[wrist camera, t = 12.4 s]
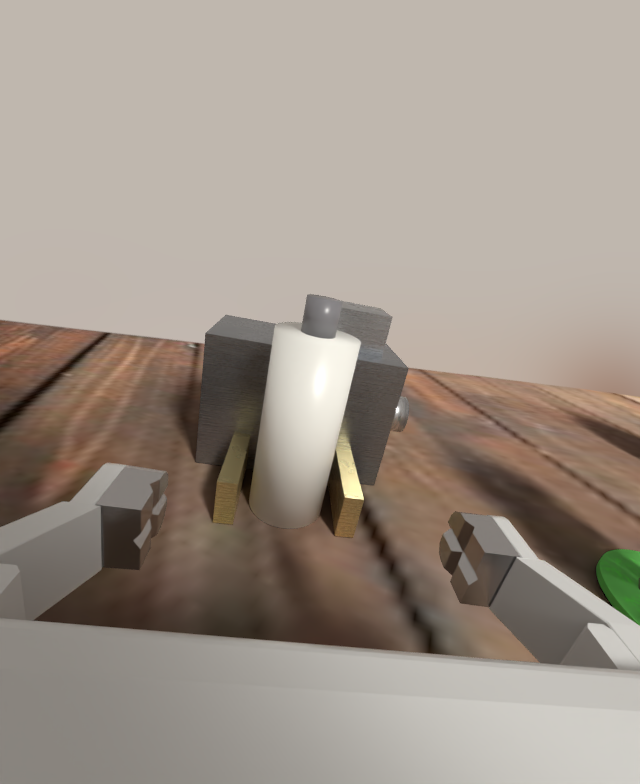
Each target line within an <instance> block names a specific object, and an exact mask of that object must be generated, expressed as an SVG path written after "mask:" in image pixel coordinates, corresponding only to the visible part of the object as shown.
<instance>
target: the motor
mask: <svg viewBox="0 0 640 784" xmlns="http://www.w3.org/2000/svg"><path fill="white" fill-rule="evenodd" d="M342 302H343V303H342V308H341V313H340V317H339V322H338V327H337V330H339V331H342V332H345V333H347V334H350V335H352V336H354V337H356V338H357V339H359V340H360V342H361V345H360V349H359V353H358V357H357V361H356V366H355V370H354V374H353V378H352V382H351V387H350V391H349V395H348V399H347V403H346V407H345V412H344V416H343V420H342V424H341V428H340V432H339V437H338V441H337V445H336V449H335V453H334V458H333V462H332V466H331V470H330V474H329V478H328V486H329V494H330V502H331V511H332V519H333V527H334V535H335V536H340V537H349V538H353V536H354V533H355V529H356V526H357V522H358V519H359V515H360V512H361V508H362V505H363V502H364V498H363V494H362V490H361V486H360V484H367V485H374V484H375V480H376V477H377V473H378V470H379V467H380V463H381V460H382V457H383V453H384V450H385V446H386V443H387V440H388V436H389V433H390V431H396V432H401V431H403V429H404V428H405V426H406V423H407V420H408V414H409V404H408V400H407V398H406V397H401V392H402V389H403V386H404V382H405V379H406V375H407V372H408V369H409V368H408V367H407V366H406V365H405V364H404V363H403V362H402V361H401V359H400V358H399V357H398V356H397V355H396V354H395V353H394V352H393V351H392V350H391V349H390V347H389V346H388V345H387V344H385V343H386V339H387V336H388V332H389V328H390V324H391V320H392V316H390V315H389V314H387V313H386V312H385V311H383V310H382V309H380V308H375V307H370V306H365V305H359V304H354V303H349V302H344V301H342ZM275 325H276V324H273V323H268V322H263V321H257V320H251V319H246V318H240V317H235V316H229V315H225V316H224V317H223V318H222V319H221V320H220V321H219V322H217V323H216V324H215V325H214V326H213V327H212V328H211V329H210V330H209V331H207V332H206V335H205V347H204V360H203V373H202V386H201V399H200V411H199V424H198V437H197V450H196V462H198V463H206V464H214V465H221V466H222V469H221V472H220V475H219V477H218V480H217V487H216V496H215V506H214V515H213V522H214V523H223V524H232V525H233V521H234V517H235V513H236V509H237V504H238V500H239V496H240V492H241V488H242V484H243V480H244V475H245V471H246V469H252V470H254V463H255V456H256V449H257V443H258V436H259V429H260V422H261V416H262V409H263V402H264V395H265V388H266V382H267V375H268V368H269V361H270V355H271V348H272V341H273V334H274V328H275Z"/></svg>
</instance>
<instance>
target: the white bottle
mask: <svg viewBox="0 0 640 784" xmlns="http://www.w3.org/2000/svg"><path fill="white" fill-rule="evenodd" d="M342 303H343V302H342V301H340V300H337V299H334V298H329V297H325V296H319V295H311V294H310V295H307V299H306V305H305V311H304V316H303V322H302V323H296V322H285V323H278V324H276V325H275V328H274V334H273V341H272V348H271V355H270V361H269V368H268V375H267V382H266V388H265V395H264V402H263V409H262V416H261V422H260V429H259V436H258V443H257V449H256V456H255V463H254V470H253V476H252V483H251V490H250V497H249V505H250V508H251V510H252V512H253V513H254V514H255V515H256V517H258V518H259V519H260V520H261V521H263V522H265V523H267V524H269V525H271V526H274V527H278V528H283V529H296V528H302V527H305V526H308V525H310V524H311V523H313V522H314V521H315V520H316V519H317V518H318V517H319V515H320V512H321V508H322V503H323V499H324V495H325V491H326V487H327V483H328V478H329V474H330V470H331V466H332V462H333V458H334V453H335V449H336V445H337V441H338V437H339V432H340V428H341V424H342V420H343V416H344V412H345V407H346V403H347V399H348V395H349V391H350V387H351V382H352V378H353V374H354V370H355V366H356V361H357V357H358V353H359V349H360V345H361V342H360V340H359V339H357V338H356V337H354V336H352V335H350V334H347V333H345V332H342V331H339V330H337V327H338V322H339V317H340V313H341V308H342Z"/></svg>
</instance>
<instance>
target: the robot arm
mask: <svg viewBox="0 0 640 784" xmlns="http://www.w3.org/2000/svg"><path fill="white" fill-rule="evenodd" d="M167 485H168V473H167V471H160V470H154V469H148V468H142V467H135V466H127V465H122V464H115V463H106V464H104V465H103V466H102V467H101V468H100V469H99V470H98V471H97V472H96V473H95V474H94V475H93V477H92V478H91V479H90V480H89V481H88V482H87V483H86V484H85V485H84V486H83V488H82V489H81V490H80V491H79V492H78V493H77V494H76V495H75V496H74V497H73V499H72V500H71V501H70V502H64V501H62V502H60V503H58V504H55V505H53V506H50V507H48V508H45V509H43V510H41V511H38V512H36V513H33V514H31V515H29V516H26V517H24V518H21V519H19V520H16V521H14V522H12V523H9V524H7V525H4V526H2V527H0V784H640V626H639V625H638V624H636V623H635V622H633V621H632V620H631V619H629V618H628V617H626V616H625V615H623V614H622V613H620V612H619V611H617V610H616V609H614V608H613V607H612V606H610V605H609V604H607V603H606V602H604V601H603V600H601V599H600V598H598V597H597V596H595V595H594V594H592V593H591V592H590V591H588V590H587V589H585V588H584V587H582V586H581V585H579V584H578V583H576V582H575V581H573V580H572V579H571V578H569V577H568V576H566V575H565V574H563V573H562V572H560V571H559V570H557V569H556V568H554V567H553V566H551V565H550V564H549V563H547V562H546V561H544V560H539V559H538V558H537V556H536V555H535V554H534V552H533V551H532V550H531V549H530V547H529V546H528V545H527V543H526V542H525V541H524V539H523V538H522V537H521V536H520V534H519V533H518V532H517V530H516V529H515V528H514V527H513V525H512V524H511V523H510V521H509V520H508V519H506V518H504V517H501V516H491V515H487V516H486V515H478V514H471V513H463V512H456V511H455V512H454V513H453V514H452V515H451V517H450V519H449V521H448V523H449V526H450V529H449V530H448V531H447V532H445V533H444V534H443V536H442V538H441V541H440V548H439V554H440V559H441V562H442V564H443V567H444V568H445V569H446V570H447V571H448V572H449V573H450V574H451V575H452V578H451V581H450V582H451V584H452V587H453V589H454V591H455V593H456V595H457V598H458V600H459V602H460V603H462V604H469V605H477V606H484V607H490V608H489V609H490V610H491V611H492V612H493V613H494V614H495V615H496V616H497V618H498V619H499V620H500V621H501V622H502V623H503V624H504V625H505V626H506V627H507V628H508V629H509V630H510V631H511V632H512V633H513V634H514V636H515V637H516V638H517V639H518V640H519V641H520V642H521V643H522V644H523V645H524V646H525V647H526V648H527V649H528V650H529V651H530V652H531V653H532V655H533V656H534V657H535V658H536V659H537V660H538V661H539V662H540V663H535V662H523V661H511V660H498V659H487V658H475V657H463V656H451V655H439V654H428V653H416V652H404V651H392V650H380V649H368V648H356V647H344V646H332V645H320V644H308V643H296V642H284V641H272V640H259V639H247V638H235V637H223V636H211V635H199V634H187V633H175V632H163V631H151V630H139V629H127V628H115V627H103V626H91V625H79V624H67V623H55V622H43V621H33V620H34V619H36V618H37V617H38V616H40V615H41V614H42V613H44V612H45V611H46V610H48V609H49V608H50V607H52V606H53V605H54V604H56V603H57V602H59V601H60V600H61V599H63V598H64V597H65V596H67V595H68V594H69V593H71V592H72V591H73V590H75V589H76V588H77V587H79V586H80V585H81V584H83V583H84V582H85V581H87V580H88V579H90V578H91V577H92V576H94V575H95V574H96V573H98V572H99V571H100V570H102V567H104V568H118V569H131V570H140V568H141V566H142V564H143V562H144V560H145V558H146V556H147V554H148V552H149V550H150V548H151V538H153V537H154V536H156V535H157V534H158V532H159V530H160V528H161V525H162V522H163V519H164V516H165V511H166V505H167V498H166V496H165V495H164V494H163V493H164V491H165V489H166V487H167Z"/></svg>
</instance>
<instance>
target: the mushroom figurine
mask: <svg viewBox="0 0 640 784" xmlns="http://www.w3.org/2000/svg"><path fill="white" fill-rule="evenodd" d="M596 575H597V578H598V582H599V584H600V587H601V588H602V590H603V592H604V594H605V596H606V597H607V599H608V600H609V602H610V603H611V604H612V606H613V607H614V608H615V609H616V610H617V611H619V612H620V613H622V614H623V615H625V616H626V617H628V618H629V619H631V620H632V621H633V622H635V623H636V624H638V625H639V626H640V552H638V551H633V550H625V549H616V550H611V551H608V552H606V553H605V554H604V555H603V556H602V557H601V558H600V560H599V562H598V564H597V567H596Z"/></svg>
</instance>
